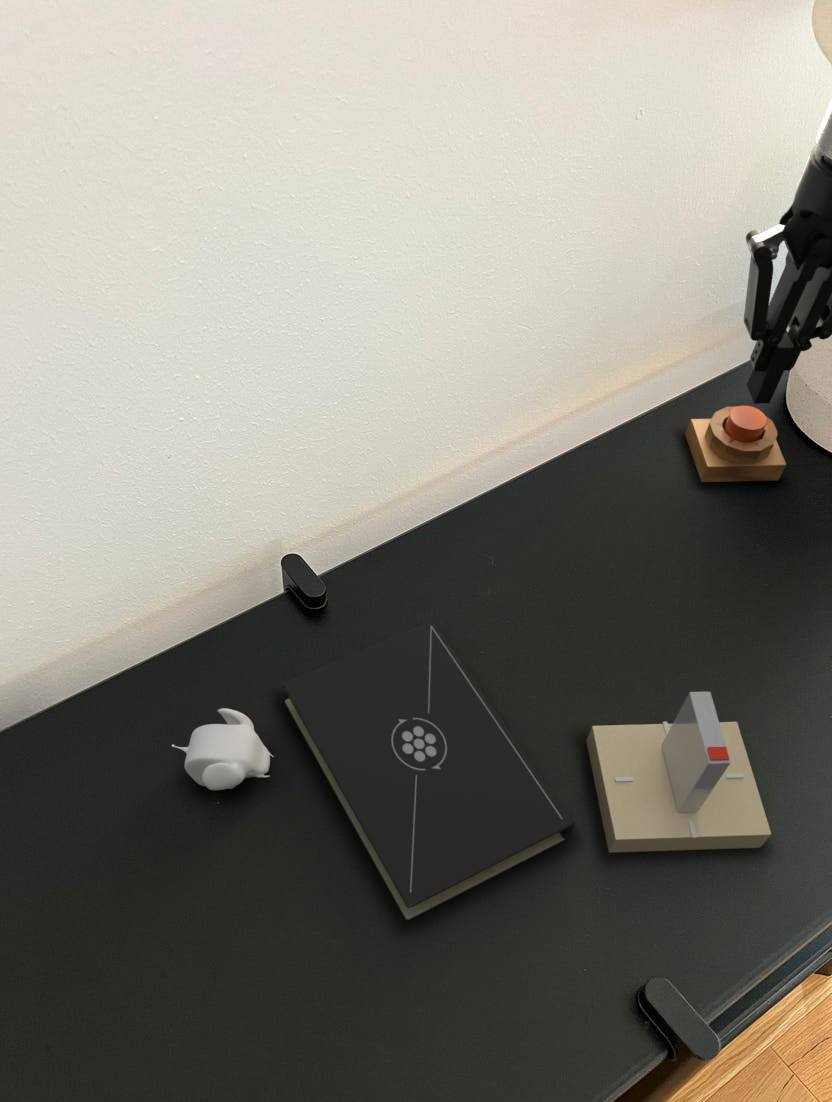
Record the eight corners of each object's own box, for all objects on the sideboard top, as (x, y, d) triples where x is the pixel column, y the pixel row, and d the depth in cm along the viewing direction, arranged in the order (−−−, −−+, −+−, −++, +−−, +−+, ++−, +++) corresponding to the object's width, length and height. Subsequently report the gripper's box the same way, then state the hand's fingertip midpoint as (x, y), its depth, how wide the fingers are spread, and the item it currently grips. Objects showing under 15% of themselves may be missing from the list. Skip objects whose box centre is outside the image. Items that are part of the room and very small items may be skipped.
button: (755, 418, 100) (761, 404, 99) (765, 442, 98) (771, 429, 97) (720, 418, 100) (725, 405, 99) (729, 443, 98) (735, 430, 96)
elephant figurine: (267, 815, 78) (262, 781, 73) (169, 805, 79) (157, 770, 74) (281, 742, 82) (277, 704, 77) (186, 732, 83) (177, 694, 78)
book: (571, 838, 77) (578, 821, 75) (406, 922, 73) (408, 908, 71) (433, 638, 88) (435, 618, 86) (283, 702, 84) (281, 683, 82)
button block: (759, 433, 104) (773, 403, 101) (778, 480, 100) (793, 451, 97) (685, 434, 104) (696, 405, 101) (701, 482, 100) (713, 453, 97)
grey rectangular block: (660, 744, 79) (690, 689, 72) (680, 744, 79) (711, 689, 73) (677, 812, 76) (709, 761, 69) (698, 812, 76) (732, 761, 69)
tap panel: (727, 735, 83) (737, 719, 80) (761, 849, 77) (773, 834, 75) (585, 739, 82) (592, 723, 80) (608, 854, 76) (616, 840, 74)
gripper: (794, 182, 74) (700, 421, 93) (965, 180, 74) (836, 419, 93) (766, 130, 78) (682, 369, 97) (927, 129, 78) (812, 367, 98)
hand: (757, 393), depth 95 cm, fingers closed
